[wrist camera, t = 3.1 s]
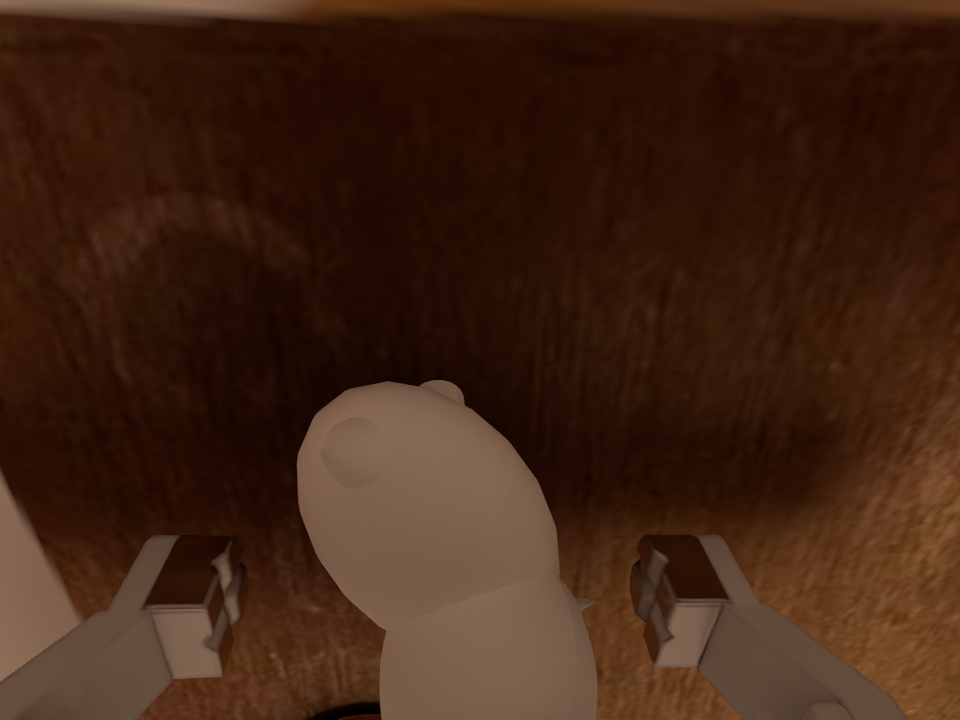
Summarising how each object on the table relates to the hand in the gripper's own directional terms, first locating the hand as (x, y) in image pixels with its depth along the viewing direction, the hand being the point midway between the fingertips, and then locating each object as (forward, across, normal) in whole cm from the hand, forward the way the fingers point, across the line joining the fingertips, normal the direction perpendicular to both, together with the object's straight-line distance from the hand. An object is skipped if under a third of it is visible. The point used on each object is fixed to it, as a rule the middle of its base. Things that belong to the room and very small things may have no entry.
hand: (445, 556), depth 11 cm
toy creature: (+2, 0, 0) cm, 3 cm away
